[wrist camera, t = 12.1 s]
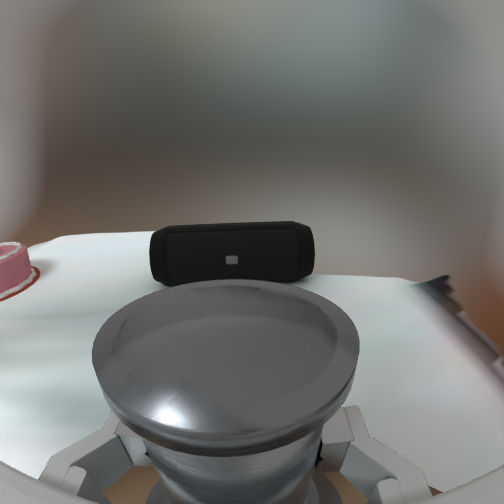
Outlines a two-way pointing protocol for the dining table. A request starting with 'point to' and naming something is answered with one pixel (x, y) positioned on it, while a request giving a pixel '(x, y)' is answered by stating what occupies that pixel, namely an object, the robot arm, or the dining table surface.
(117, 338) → the cylinder
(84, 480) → the robot arm
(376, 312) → the dining table surface
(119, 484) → the stand
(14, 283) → the cake
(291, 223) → the portable speaker
